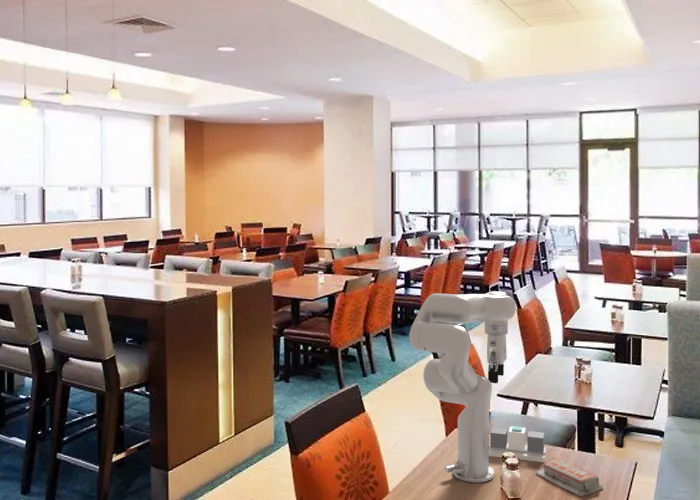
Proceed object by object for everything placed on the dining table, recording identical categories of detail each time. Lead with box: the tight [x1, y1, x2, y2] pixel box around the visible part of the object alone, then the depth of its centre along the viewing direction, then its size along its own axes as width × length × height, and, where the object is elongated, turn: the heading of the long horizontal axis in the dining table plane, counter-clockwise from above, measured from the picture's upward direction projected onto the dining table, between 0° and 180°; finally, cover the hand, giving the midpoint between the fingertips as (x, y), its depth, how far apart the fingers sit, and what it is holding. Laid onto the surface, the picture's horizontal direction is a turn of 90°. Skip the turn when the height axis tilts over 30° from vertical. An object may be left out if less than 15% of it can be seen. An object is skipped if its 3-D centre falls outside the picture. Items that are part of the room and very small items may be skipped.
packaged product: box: [535, 457, 604, 497], centre depth 200 cm, size 18×5×10 cm
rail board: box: [489, 426, 547, 463], centre depth 221 cm, size 18×9×7 cm, turn 70°
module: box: [508, 425, 527, 451], centre depth 221 cm, size 5×5×7 cm
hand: (496, 378), depth 223 cm, fingers open, 9 cm apart
